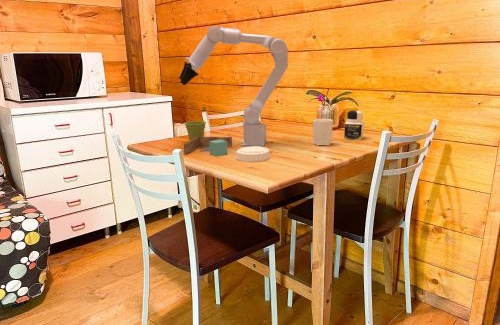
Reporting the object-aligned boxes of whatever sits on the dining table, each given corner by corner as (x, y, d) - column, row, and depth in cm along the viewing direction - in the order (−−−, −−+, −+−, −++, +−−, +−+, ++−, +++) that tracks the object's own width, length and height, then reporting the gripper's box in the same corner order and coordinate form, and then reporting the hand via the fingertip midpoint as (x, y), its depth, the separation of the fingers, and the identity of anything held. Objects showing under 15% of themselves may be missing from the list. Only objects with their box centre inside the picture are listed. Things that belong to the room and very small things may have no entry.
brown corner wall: (232, 146, 157) (231, 136, 156) (222, 155, 142) (221, 144, 141) (197, 145, 160) (197, 136, 159) (184, 154, 146) (183, 144, 145)
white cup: (334, 142, 157) (334, 118, 155) (329, 146, 151) (330, 121, 148) (315, 141, 161) (316, 118, 158) (310, 145, 154) (310, 121, 151)
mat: (221, 147, 156) (221, 146, 156) (216, 151, 149) (216, 150, 149) (205, 147, 157) (205, 146, 157) (199, 151, 150) (199, 150, 150)
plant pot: (203, 144, 163) (202, 124, 160) (182, 144, 165) (181, 124, 162) (209, 140, 172) (208, 121, 169) (190, 139, 173) (188, 121, 171)
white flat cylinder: (235, 163, 132) (234, 153, 131) (237, 154, 143) (237, 145, 142) (269, 162, 131) (269, 152, 130) (269, 154, 143) (269, 144, 142)
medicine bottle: (344, 139, 163) (344, 111, 160) (346, 136, 170) (347, 109, 167) (361, 140, 161) (362, 112, 158) (363, 137, 167) (364, 109, 164)
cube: (221, 151, 148) (220, 139, 147) (227, 154, 144) (226, 141, 143) (209, 153, 146) (209, 141, 144) (215, 156, 141) (215, 143, 140)
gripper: (191, 45, 155) (172, 72, 158) (194, 50, 142) (174, 79, 145) (205, 55, 158) (186, 82, 161) (209, 61, 145) (189, 90, 148)
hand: (181, 81), depth 153 cm, fingers open, 7 cm apart
